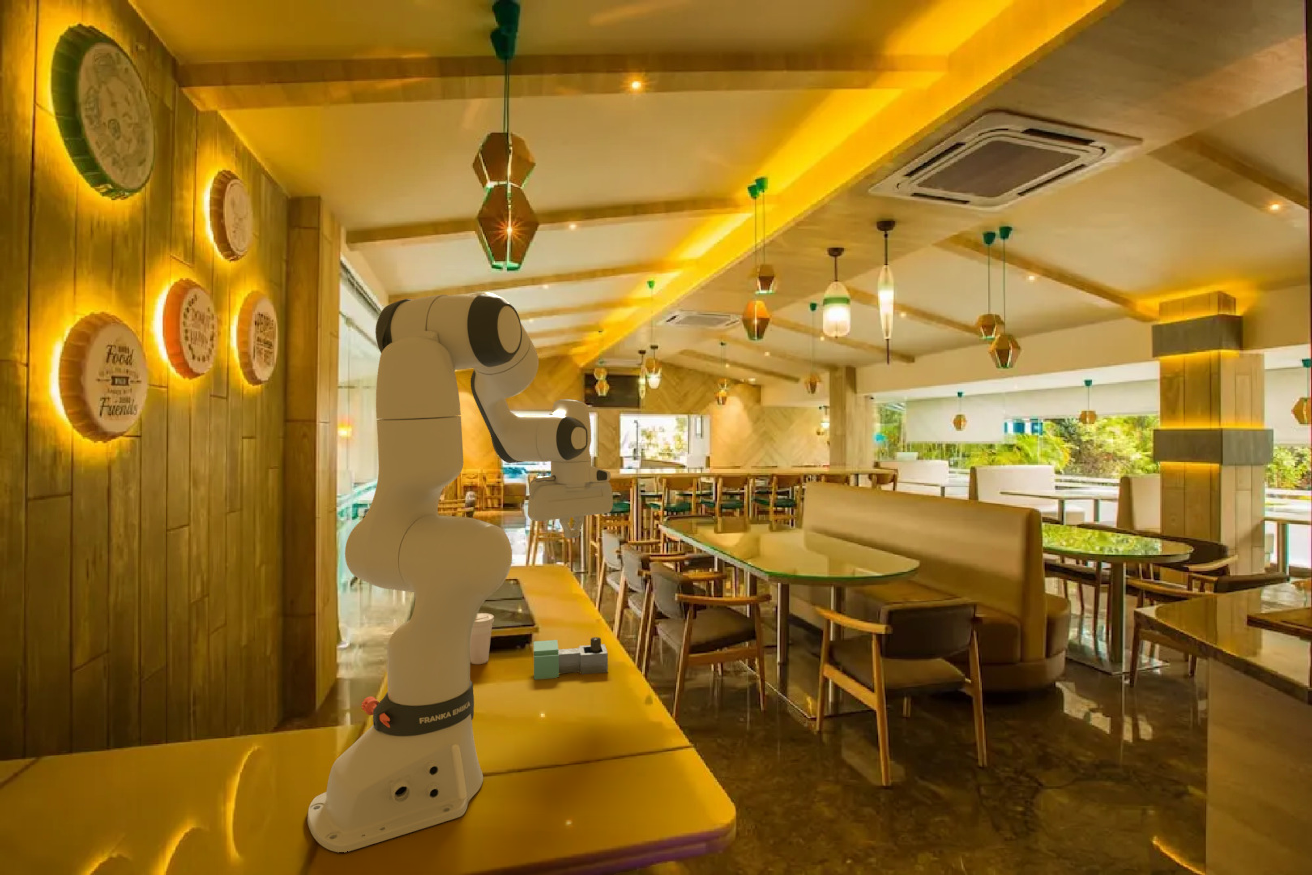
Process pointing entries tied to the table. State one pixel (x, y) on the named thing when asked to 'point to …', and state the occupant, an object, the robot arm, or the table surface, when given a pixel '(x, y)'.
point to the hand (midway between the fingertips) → (571, 537)
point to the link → (583, 660)
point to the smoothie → (481, 638)
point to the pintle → (595, 644)
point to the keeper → (546, 659)
